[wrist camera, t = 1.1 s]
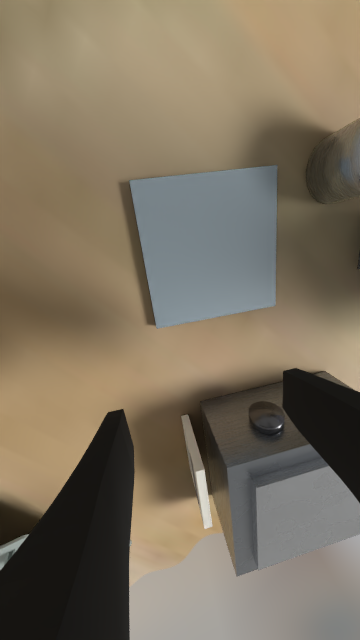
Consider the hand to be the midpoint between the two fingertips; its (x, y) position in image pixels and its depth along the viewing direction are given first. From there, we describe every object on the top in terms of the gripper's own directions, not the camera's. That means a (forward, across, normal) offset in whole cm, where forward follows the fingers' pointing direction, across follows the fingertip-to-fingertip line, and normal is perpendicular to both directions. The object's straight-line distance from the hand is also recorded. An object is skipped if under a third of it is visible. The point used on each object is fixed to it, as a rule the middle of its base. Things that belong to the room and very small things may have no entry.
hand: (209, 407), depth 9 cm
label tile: (+7, 0, +10) cm, 12 cm away
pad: (+7, -3, -6) cm, 10 cm away
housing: (+7, -7, +12) cm, 16 cm away
